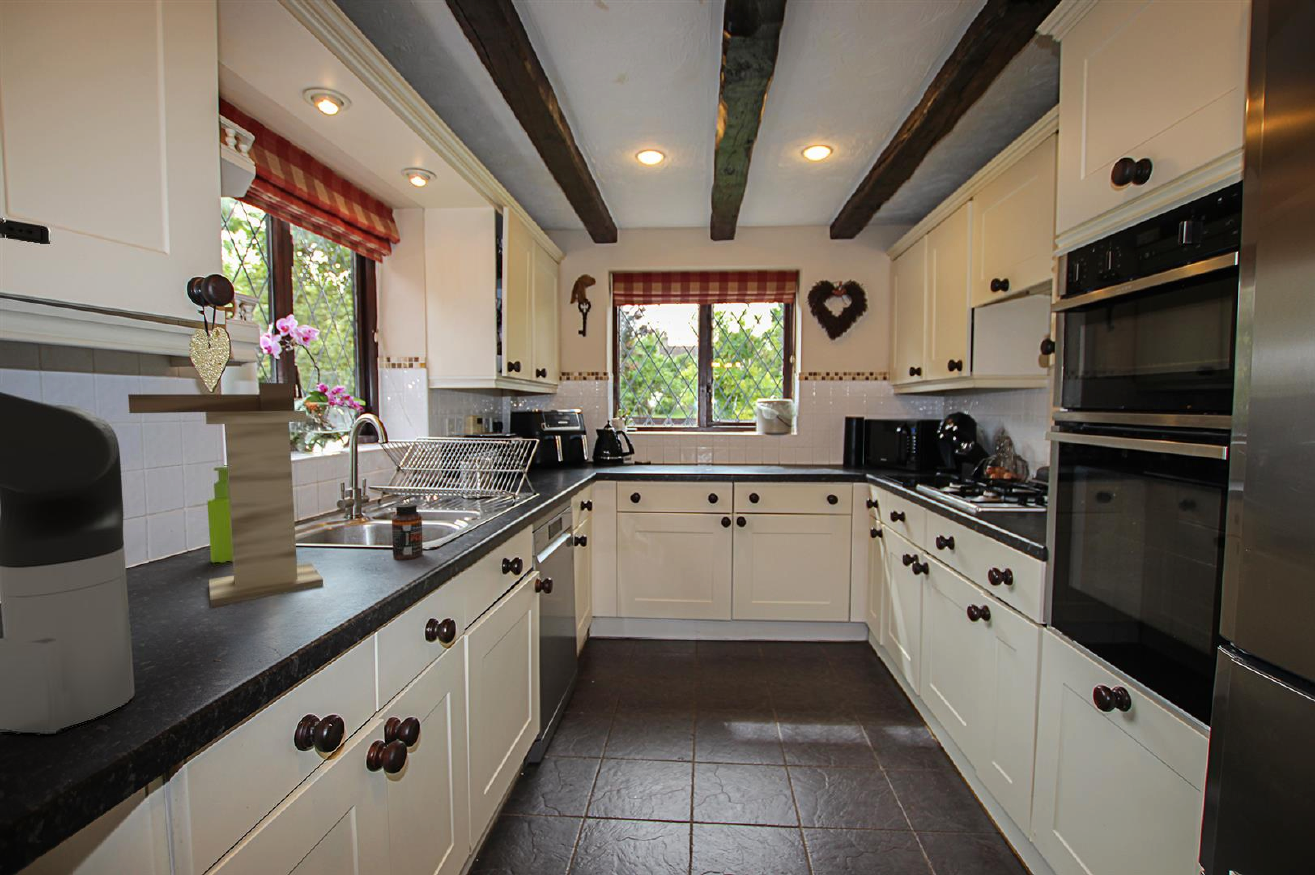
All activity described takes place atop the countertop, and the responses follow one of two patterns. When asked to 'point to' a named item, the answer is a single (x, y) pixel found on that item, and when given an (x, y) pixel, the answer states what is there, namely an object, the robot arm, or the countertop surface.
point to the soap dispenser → (220, 520)
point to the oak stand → (260, 508)
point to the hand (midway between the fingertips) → (62, 240)
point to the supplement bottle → (407, 532)
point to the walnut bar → (217, 401)
